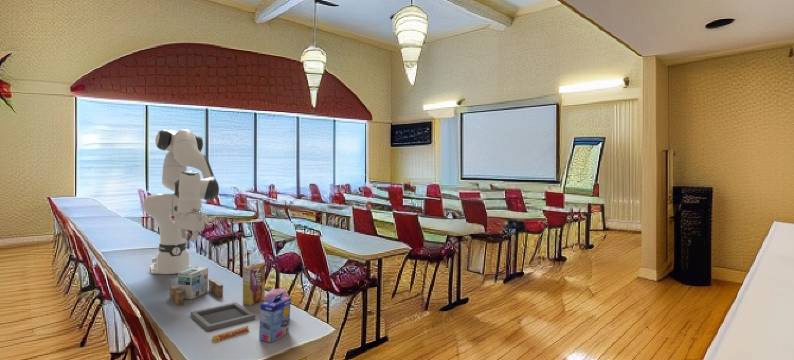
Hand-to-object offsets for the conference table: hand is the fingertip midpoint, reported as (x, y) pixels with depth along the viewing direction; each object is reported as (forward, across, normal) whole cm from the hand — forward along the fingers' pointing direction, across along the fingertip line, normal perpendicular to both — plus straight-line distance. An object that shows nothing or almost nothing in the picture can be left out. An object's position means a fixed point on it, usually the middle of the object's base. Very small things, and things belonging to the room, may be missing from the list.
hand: (188, 239), depth 179 cm
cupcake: (+24, -51, -9) cm, 57 cm away
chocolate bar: (+25, -56, +11) cm, 62 cm away
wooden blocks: (+22, -12, +2) cm, 25 cm away
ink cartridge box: (+25, -66, +2) cm, 70 cm away
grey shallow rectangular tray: (+24, -39, +5) cm, 46 cm away
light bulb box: (+23, -8, +1) cm, 24 cm away
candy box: (+23, -32, -12) cm, 42 cm away
